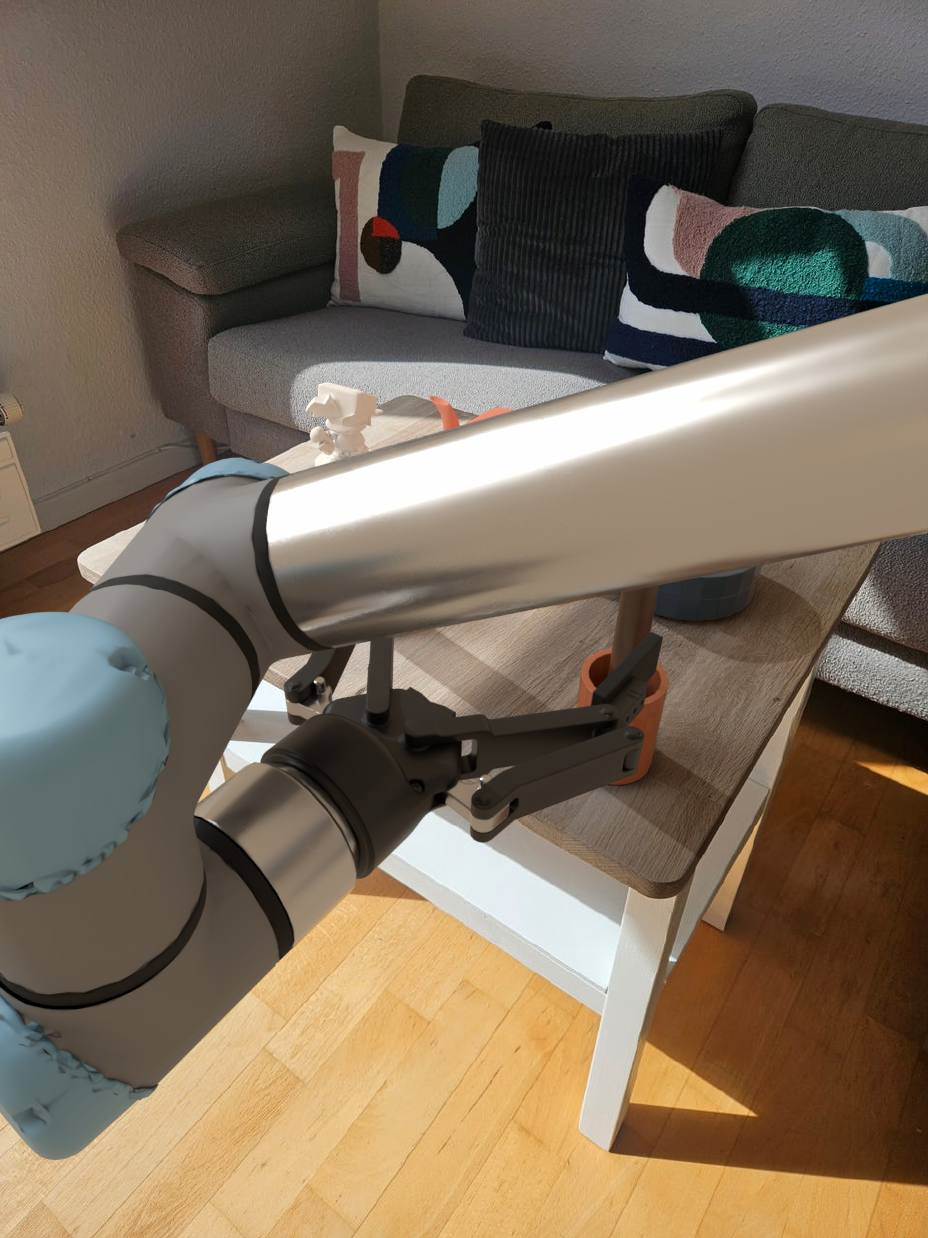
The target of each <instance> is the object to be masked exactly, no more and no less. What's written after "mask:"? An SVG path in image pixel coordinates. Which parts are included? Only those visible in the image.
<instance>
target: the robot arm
mask: <svg viewBox="0 0 928 1238" xmlns="http://www.w3.org/2000/svg"><path fill="white" fill-rule="evenodd" d="M513 410H514V411H511V412H507V413H503V414H500V415H496V416H493V417H489V418H486V419H482V420H479V421H475V422H472V423H468V422H467V423H468V424H466V423H464V424H465V425H464V424H462V425H461V424H460V426H457V427H454V428H450V429H447V430H443V429H442V430H440V431H437V432H432V433H429V434H426V435H421V436H418V437H416V438H415V437H414V438H412V439H409V440H408V439H407V440H405V441H401V442H398V443H394V444H391V445H387V446H384V447H379V448H377V449H373V451H369V452H366V453H362V454H358V455H355V456H351V457H348V458H344V459H341V460H337V461H334V462H330V463H327V464H323V465H320V466H316V467H315V466H313V467H309V468H306V469H302V470H299V471H295V472H292V473H290V472H289V471H287V470H286V469H284V468H282V467H280V466H278V465H275V464H273V463H270V462H261V461H257V460H253V459H247V458H244V457H229V458H223V459H220V460H217V461H213V462H211V463H208V464H206V465H204V466H202V467H201V468H199V469H198V470H196V471H195V472H193V473H192V474H191V475H190V476H189V477H188V478H187V479H186V480H184V482H183V483H181V484H180V485H179V486H177V487H175V488H174V489H172V490H171V491H169V492H168V493H167V494H166V496H165V497H164V498H163V499H162V500H161V502H160V503H158V504H156V505H155V506H154V508H152V511H151V512H150V513H149V516H148V517H147V519H146V520H145V522H144V524H143V526H142V527H141V528H140V530H139V531H138V532H137V533H136V534H135V535H134V536H133V538H132V539H131V541H129V543H128V544H127V545H126V546H125V548H123V550H122V551H121V552H120V553H119V555H118V556H117V557H116V558H115V559H114V561H113V562H112V564H111V565H110V566H109V567H108V568H107V569H106V570H105V572H104V573H103V574H102V575H101V576H100V578H98V580H97V581H96V582H95V583H94V584H93V586H92V587H91V588H90V589H89V590H88V592H87V593H85V594H84V596H83V597H82V598H81V599H80V600H79V601H77V602H76V603H74V605H73V607H72V608H71V609H70V610H69V611H67V612H66V611H40V612H31V613H30V612H29V613H25V614H24V613H23V614H17V615H11V616H8V617H7V616H6V617H3V618H0V1114H1V1116H2V1117H3V1118H4V1119H5V1120H6V1122H7V1123H8V1124H9V1125H10V1126H11V1128H12V1129H13V1130H14V1131H15V1132H16V1133H17V1135H18V1136H19V1137H20V1139H21V1140H22V1141H23V1142H24V1143H25V1145H27V1147H29V1149H30V1150H31V1151H33V1152H34V1153H35V1155H38V1156H39V1157H40V1158H42V1159H45V1160H49V1161H59V1160H66V1159H70V1158H72V1157H73V1156H76V1155H78V1154H80V1153H81V1152H82V1151H83V1150H85V1149H87V1147H88V1146H89V1145H90V1144H91V1143H92V1142H93V1141H95V1140H96V1139H97V1138H98V1137H99V1136H100V1135H102V1133H103V1132H105V1130H107V1129H108V1128H109V1127H110V1126H111V1125H112V1124H114V1122H115V1121H117V1120H118V1119H119V1118H120V1117H121V1116H122V1115H124V1113H126V1112H127V1111H128V1110H129V1109H130V1108H131V1107H133V1106H134V1104H136V1102H137V1103H138V1101H142V1100H143V1099H146V1098H149V1096H151V1095H152V1094H153V1093H154V1092H155V1091H156V1090H157V1088H158V1087H159V1085H160V1084H159V1083H160V1082H161V1081H163V1080H164V1078H165V1077H166V1076H168V1075H169V1073H171V1071H172V1070H173V1069H174V1068H175V1067H176V1066H177V1065H179V1063H180V1062H181V1061H183V1059H184V1058H185V1057H186V1056H188V1054H189V1053H190V1052H191V1051H192V1050H193V1049H194V1048H195V1047H196V1046H197V1045H199V1043H201V1041H202V1040H203V1039H204V1038H205V1037H206V1036H207V1035H209V1034H210V1033H211V1031H212V1030H213V1029H214V1028H215V1027H216V1026H217V1025H218V1024H219V1023H220V1022H221V1021H222V1020H223V1019H224V1018H225V1017H226V1016H227V1015H228V1014H229V1013H230V1012H231V1011H232V1010H233V1009H234V1008H235V1007H236V1006H237V1005H238V1004H239V1003H240V1002H241V1001H242V1000H243V999H244V998H245V997H246V996H247V995H248V994H249V993H250V992H251V991H252V990H253V989H254V988H255V987H256V986H257V985H258V984H259V983H260V982H261V981H262V980H263V979H264V978H265V977H266V976H267V975H268V974H269V973H270V972H271V971H272V970H273V969H274V968H275V967H276V965H277V963H280V961H281V960H282V959H283V958H284V957H285V956H287V954H288V953H289V952H290V951H292V950H293V949H295V947H297V946H298V945H299V944H300V942H302V940H304V939H305V938H306V937H307V936H308V935H309V934H310V933H311V932H312V931H313V930H314V929H315V928H316V927H317V926H318V925H319V924H320V923H321V922H322V921H323V920H324V919H325V918H326V917H327V916H328V915H329V914H331V912H332V911H333V910H334V909H335V908H336V907H338V905H339V904H341V903H342V901H344V900H345V899H346V898H347V897H348V896H349V895H350V894H351V893H352V892H353V891H354V888H355V886H356V884H357V880H361V879H362V880H363V879H364V878H367V877H369V876H370V875H371V874H372V873H373V872H374V871H375V870H376V869H377V868H378V867H379V866H380V865H381V864H382V863H383V862H384V861H385V860H386V859H387V858H389V856H391V854H393V852H394V851H395V850H396V849H397V848H399V846H400V845H402V844H403V843H404V842H405V841H406V840H407V839H408V838H409V837H410V836H411V834H412V833H413V832H414V831H415V829H416V828H417V827H418V826H419V824H420V823H421V822H422V820H424V818H425V817H426V816H428V815H429V814H430V813H432V812H434V811H435V810H439V809H441V808H445V807H447V806H448V807H449V808H451V809H452V810H453V811H454V812H455V813H457V815H459V816H460V817H462V818H463V819H464V820H466V821H467V822H468V823H469V835H470V837H471V838H472V840H473V841H475V842H477V843H480V844H481V843H482V844H484V843H489V842H491V841H493V839H495V837H497V835H498V836H499V834H500V833H502V832H503V831H504V830H505V829H506V828H507V827H508V826H510V825H511V824H512V823H514V822H515V821H517V820H519V819H521V818H525V817H526V816H529V815H532V814H534V813H537V812H539V811H542V810H544V809H547V808H550V807H552V806H553V807H554V806H555V805H558V804H560V803H563V802H566V801H568V800H571V799H574V798H576V797H578V796H581V795H584V794H587V793H589V792H592V791H594V790H597V789H599V788H602V787H605V786H607V785H608V786H609V785H611V784H610V783H613V782H616V781H618V780H621V779H623V778H626V777H629V776H631V775H633V774H635V773H636V771H637V769H638V764H639V759H640V755H641V750H642V745H643V741H644V733H643V731H642V730H640V729H639V728H637V727H635V726H628V725H629V724H630V723H631V722H632V721H633V720H634V718H635V717H636V716H637V715H638V714H639V713H640V712H641V711H642V709H643V707H644V703H645V698H646V693H647V688H648V683H647V681H648V680H649V679H650V678H651V677H652V676H653V675H654V674H655V673H656V668H657V664H658V663H659V658H660V653H661V648H662V645H663V641H664V640H663V639H664V636H662V635H660V634H657V633H655V632H653V631H650V634H649V635H648V636H647V637H646V638H645V639H644V640H643V641H642V642H641V643H640V644H639V645H638V646H637V647H636V648H635V649H634V650H633V651H632V652H631V653H630V654H629V655H628V656H627V657H626V658H625V659H624V660H623V661H622V663H621V664H620V665H619V666H618V667H617V668H616V669H615V670H614V671H613V672H612V673H611V674H610V675H609V676H608V677H607V678H606V679H605V680H604V681H603V682H602V683H601V684H600V685H599V686H598V687H597V688H596V689H595V690H594V691H593V694H592V701H591V706H585V707H578V708H576V707H570V708H564V709H557V710H550V711H542V712H535V713H528V714H519V715H513V716H505V717H497V718H488V716H486V715H485V714H483V713H475V714H467V715H460V716H457V711H454V710H453V709H451V708H449V707H447V706H445V705H443V704H440V703H437V702H433V701H431V700H429V699H428V698H427V697H426V696H425V695H424V694H423V693H422V692H421V691H419V690H417V689H415V688H413V687H412V686H409V687H408V688H406V689H404V688H394V657H395V656H394V653H395V652H394V651H395V648H394V647H395V637H400V636H405V635H409V634H414V633H421V632H426V631H431V630H436V629H441V628H445V627H446V628H447V627H451V626H456V625H462V624H466V623H467V624H468V623H472V622H477V621H482V620H487V619H492V618H497V617H502V616H503V617H504V616H508V615H513V614H518V613H522V612H523V613H524V612H527V611H528V612H529V611H533V610H539V609H544V608H548V607H554V606H558V605H563V604H568V603H569V604H570V603H574V602H580V601H584V600H591V599H595V598H599V597H600V598H601V597H606V596H610V595H615V594H619V593H620V594H621V592H626V591H631V590H636V589H642V588H647V587H652V586H657V585H662V584H667V583H672V582H678V581H683V580H688V579H693V578H698V577H703V576H708V575H714V574H719V573H724V572H729V571H734V570H739V569H744V568H750V567H755V566H760V565H762V566H765V565H770V564H774V563H780V562H785V561H791V560H796V559H800V558H805V557H811V556H816V555H821V554H826V553H831V552H836V551H841V550H847V549H851V548H857V547H862V546H867V545H872V544H878V543H882V542H887V541H893V540H898V539H903V538H908V537H909V538H910V537H913V536H918V535H923V534H928V293H924V294H921V295H918V296H913V297H910V298H906V299H903V300H900V301H896V302H892V303H889V304H886V305H882V306H879V307H875V308H871V309H868V310H864V311H861V312H857V313H853V314H851V315H846V316H844V317H840V318H836V319H833V320H829V321H826V322H822V323H818V324H815V325H811V326H808V327H804V328H802V329H798V330H793V331H790V332H785V333H783V334H780V335H776V336H773V337H768V338H765V339H762V340H758V341H755V342H752V343H747V344H744V345H740V346H737V347H734V348H730V349H726V350H723V351H719V352H715V353H713V354H708V355H706V356H702V357H698V358H694V359H692V360H691V359H690V360H688V361H684V362H681V363H680V362H679V363H677V364H673V365H669V366H667V367H663V368H660V369H656V370H652V371H649V372H645V373H641V374H638V375H634V376H631V377H627V378H624V379H621V380H617V381H613V382H610V383H606V384H603V385H600V386H599V385H598V386H595V387H592V388H588V389H585V390H582V391H578V392H574V393H571V394H567V395H564V396H561V397H557V398H553V399H549V400H546V401H543V402H539V403H536V404H532V405H528V406H525V407H521V408H518V409H513ZM368 642H370V643H369V657H368V658H369V660H368V665H367V678H366V679H367V680H366V693H362V694H356V695H351V696H345V697H339V698H336V699H333V695H334V693H335V691H336V689H337V687H338V684H339V683H340V680H341V678H342V676H343V674H344V671H345V669H346V667H347V666H348V663H349V661H350V659H351V656H352V655H353V652H354V650H355V647H356V645H359V644H364V643H368ZM307 655H310V656H309V658H308V660H307V662H306V663H305V664H304V665H302V667H301V668H299V669H298V670H297V671H296V672H295V673H294V674H293V675H291V676H290V677H289V678H288V679H287V680H286V681H285V682H284V683H283V693H284V697H285V698H284V699H285V706H286V713H287V719H288V722H289V723H290V724H291V725H293V726H297V727H296V728H295V729H293V730H292V731H291V732H289V733H288V734H286V735H285V736H284V737H282V738H281V739H280V740H279V741H278V742H276V743H275V744H274V745H272V746H271V747H269V748H268V749H267V750H266V751H265V752H264V753H263V754H262V755H261V757H260V761H259V762H258V761H257V762H256V761H254V762H252V763H249V764H247V765H245V766H243V767H242V768H240V769H239V770H238V771H237V772H235V773H234V774H233V775H232V776H230V777H229V778H228V779H226V780H225V781H224V782H223V783H221V784H220V785H219V786H218V787H216V788H215V789H214V790H213V791H211V792H210V793H209V794H207V795H205V796H204V798H202V795H203V794H204V791H205V790H206V787H207V786H208V784H209V782H210V780H211V778H212V776H213V774H214V772H215V770H216V768H217V767H218V765H219V763H220V761H221V759H222V757H223V755H224V753H225V751H226V750H227V747H228V745H229V744H230V741H231V739H232V738H233V736H234V734H235V731H236V730H237V728H238V726H239V724H240V722H241V720H242V718H243V716H244V715H245V713H246V712H247V710H248V708H249V706H250V704H251V702H252V700H253V698H254V696H255V695H256V692H257V690H258V688H259V686H260V685H261V684H262V681H263V680H264V677H265V676H266V674H267V672H268V670H269V669H270V667H271V666H272V665H273V664H275V663H277V662H279V661H281V660H286V659H290V658H295V657H296V658H297V657H302V656H307ZM470 740H471V751H470V752H469V753H468V754H465V755H462V754H463V742H464V741H470ZM508 767H509V768H508ZM502 768H507V769H504V770H503V771H501V772H500V773H498V774H496V775H495V776H491V775H490V773H491V772H492V771H494V770H497V769H502ZM474 779H479V780H478V781H477V780H476V781H475V782H464V781H467V780H474ZM201 798H202V799H201Z"/></svg>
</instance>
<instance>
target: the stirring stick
mask: <svg viewBox="0 0 928 1238" xmlns="http://www.w3.org/2000/svg"><path fill="white" fill-rule="evenodd" d="M658 590H659V585H657V586H652V587H647V588H642V589H636V590H631V591H626V592H621V593H620V598H619V603H618V608H617V609H618V610H617V616H616V624H615V629H614V635H613V641H612V647H611V649H612V653H611V660H610V666H609V672H608V676H609V675H610V674H611V673H612V672H613V671H614V670H615V669H616V668H617V667H618V666H619V665H620V664H621V663H622V661H623V660H624V659H625V658H626V657H627V656H628V655H629V654H630V653H631V652H632V651H633V650H634V649H635V648H636V647H637V646H638V645H639V644H640V643H641V642H642V641H643V640H644V639H645V638H646V637H647V636H648V635H649V634H650V633H651V632H652V626H653V621H654V615H655V614H654V611H655V605H656V600H657V595H658Z"/></svg>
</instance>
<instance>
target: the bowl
mask: <svg viewBox="0 0 928 1238" xmlns="http://www.w3.org/2000/svg"><path fill="white" fill-rule="evenodd" d="M762 566H763V565H760V566H755V567H750V568H744V569H739V570H734V571H729V572H724V573H719V574H714V575H708V576H703V577H698V578H693V579H688V580H683V581H678V582H672V583H667V584H662V585H659V590H658V595H657V600H656V605H655V611H654V615H658V616H660V617H664V618H668V619H673V620H677V621H678V620H680V621H686V622H687V621H688V622H701V621H713V620H718V619H723V618H726V617H730V616H733V615H736V613H738V612H741V611H742V610H744V609H745V608H746V607H747V606H748V605H749V603H750V602H751V601H752V600H753V598H754V595H755V591H756V588H757V583H758V580H759V577H760V573H761V569H762Z"/></svg>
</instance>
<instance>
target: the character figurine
mask: <svg viewBox="0 0 928 1238" xmlns="http://www.w3.org/2000/svg"><path fill="white" fill-rule="evenodd" d="M377 402H378V397H377V396H376V395H373V394H370V393H368V392H365V391H362V390H360V389H356V388H353V387H348V386H344V385H341V384H338V383H333V382H329V381H326V382H322V383H319V384H318V385H317V396H314V397H313V398H311V400H310V401H309V402H308V404H307V405H306V408H305V413H312V416H311V417H312V418H327V419H326V420H325V426H326V428H327V429H328V430H325V429H324V427H322V426H319V425H318V426H315V427H313V428H312V429H311V431H310V433H309V439H310V441H311V442H312V443H316V444H317V445H316V447H317V448H318V450H319V451H320V452H321V453H320V454H319V455H317V457H316V458H315V460H314V467H316V466H320V465H323V464H327V463H330V462H334V461H337V460H341V459H344V458H348V457H351V456H355V455H358V454H362V453H366V452H369V451H373V450H374V449H373V450H372V449H370V447H368V446H367V445H366V439H365V437H364V435H363V433H362V432H363V431H364V430H365V429H366V428H367V426H368V427H372V418H373V417H377V416H382V415H383V414H384V410H383V409H380V408H377V404H378V403H377ZM329 430H330V431H329Z"/></svg>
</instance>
